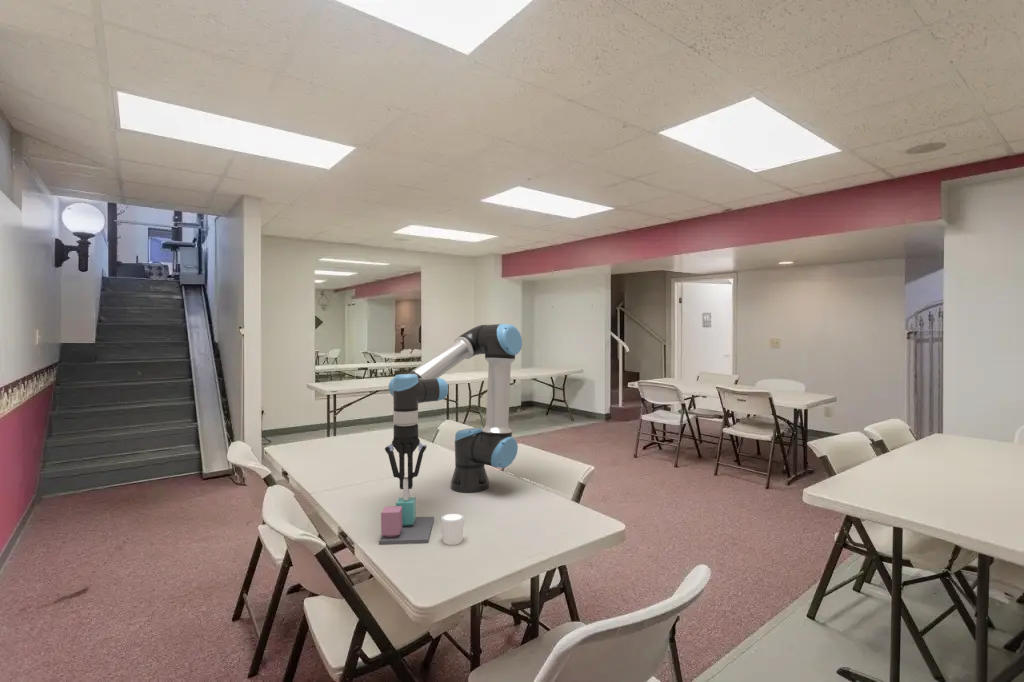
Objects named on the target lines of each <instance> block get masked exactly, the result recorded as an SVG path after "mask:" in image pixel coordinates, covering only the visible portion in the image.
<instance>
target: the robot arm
mask: <svg viewBox="0 0 1024 682" xmlns="http://www.w3.org/2000/svg"><path fill="white" fill-rule="evenodd" d="M522 347H523V338H522V335H521V332H520V331H519V329H518V328H517V327H516V326H515V325H513V324H507V323H499V324H498V323H497V324H480V325H477V326H475V327H472V328H471V329H469V330H467V331H466V332H464V333H461V335H459V336H457V337H456V338H455V339H454V342H453V343H452V344H450V345H449V346H447V347H446V348H444V349H442V350H441V351H439V352H438V353H437V354H435V355H433V356H432V357H430V358H429V359H428V360H426V361H424V362H423V363H421V364H420V365H419V366H417V367H416V368H414V369H413V370H411V371H409V372H408V373H404V374H403V373H400V374H396V375H395V376H394V377H393V378H391V380H390V381H389V384H388V391H389V394H390V395H391V396H392V397H393V399H392V400H393V402H392V403H393V412H392V413H393V424H394V425H393V439H392V441H391V443H390V444H389V445H386V446H385V447H384V451H385V452H386V454H387V455H388V460H389V463H390V466H391V471H392V476H393V477H394V478H397V479H399V489H400V490H403V492H402V498H403V501H408V500H409V497H410V490H412V488H413V486H414V484H413V482H414V481H413V479H414V478H416V477H418V475H419V473H420V469H421V466H422V461H423V457H424V452H425V451H426V449H427V445H426V444H423V443H422V442H421V440H420V437H419V424H418V422H419V404H421V403H429V402H439V401H443V400H445V399H446V397H447V396H448V394H449V386H448V383H447V381H446V380H445V379H444V378H440V377H441V376H443V375H445V374H446V373H447V372H449V371H450V370H452V369H453V368H454V367H456V366H457V365H459V364H460V363H461V362H462V361H464V360H470V359H471V358H473V357H474V356H477V355H478V356H479V355H484V360H486V361H487V363H488V370H487V389H486V392H487V393H486V415H485V426H484V427H472V428H464V429H459V430H457V431H456V433H455V434H454V435H455V437H454V457H455V458H454V461H455V462H454V463H455V464H454V465H455V468H454V471H453V475H452V477H451V481H450V488H451V490H452V491H455V492H458V493H459V492H460V493H477V492H482V491H485V490H487V489H488V488H489V487H490V479H489V477H488V474H487V471H486V468H485V465H486V466H491V467H494V468H503V469H504V468H507V467H509V466H510V465H511V464H513V461H515V459H516V457H517V454H518V448H519V446H518V442H517V440H516V439H515V437H512V436H513V430H512V429H511V428H510V427H509V417H510V416H509V414H510V396H511V395H510V393H511V373H512V372H511V369H512V363H513V362H514V361H516V356H517V355H518V354H520V351H521V350H522ZM394 449H395V450H396V452H397V453H398V458H399V459H398V461H399V462H398V463H399V468H398V465H397V464H398V463H397V461H396V456H395V453H394V452H395V451H394ZM417 449H418V455H417V459H416V463H415V467H413V466H414V465H413V464H414V461H413V459H414V452H415V451H416V450H417ZM405 455H407V476H406V475H405ZM413 470H414V471H413Z"/></svg>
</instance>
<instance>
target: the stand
mask: <svg viewBox="0 0 1024 682" xmlns="http://www.w3.org/2000/svg"><path fill="white" fill-rule="evenodd" d="M380 520H381V521H380V525H381V526H380V527H381V528H380V529H381V530H380V532H381V533H380V537H379V539H378V545H382V546H383V545H405V544H409V543H410V544H428V543H429V541H430V537H431V534H432V529H433V525H434V522H435V516H416V518H415V521H414V524H407V525H402V506H396V505H395V506H389V505H388V506H384V508H383V509H382V511H381V512H380ZM410 544H409V545H410Z"/></svg>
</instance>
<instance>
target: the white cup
mask: <svg viewBox="0 0 1024 682" xmlns="http://www.w3.org/2000/svg"><path fill="white" fill-rule="evenodd" d="M440 523H441V524H440V525H441V534H442V535H441V536H442V543H443V544H444V545H449V546H454V545H459V544H461V543H462V542H463V539H464V538H463V537H464V528H465V527H464V525H465V515H464V514H462V513H457V512H451V513H450V512H449V513H446V514H442V515H441V517H440Z"/></svg>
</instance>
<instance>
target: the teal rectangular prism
mask: <svg viewBox="0 0 1024 682" xmlns="http://www.w3.org/2000/svg"><path fill="white" fill-rule="evenodd" d="M416 504H417V503H416V497H415V496H413V497H411V496H409V500H408V501H403V497H398V498H397V501H396V503H395V506H402V525H407V524H414V521H415V518H416V517H417V515H416V513H417V511H416V509H417V508H416Z"/></svg>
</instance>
